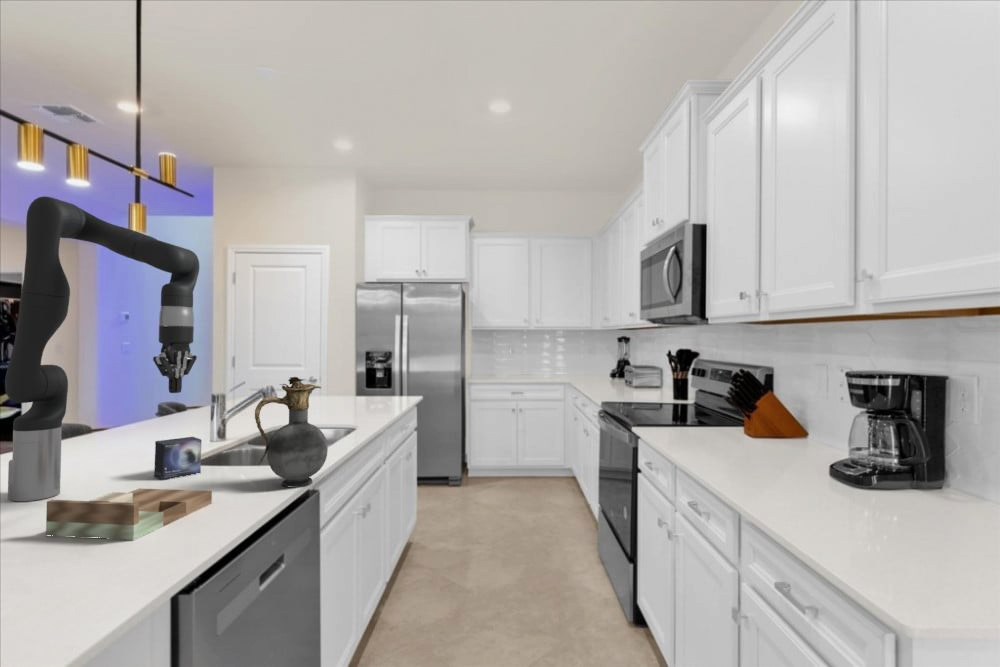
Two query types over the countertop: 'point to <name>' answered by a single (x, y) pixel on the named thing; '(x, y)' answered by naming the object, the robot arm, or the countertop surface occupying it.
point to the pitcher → (294, 438)
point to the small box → (177, 457)
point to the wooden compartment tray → (123, 514)
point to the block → (115, 497)
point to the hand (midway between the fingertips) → (174, 392)
